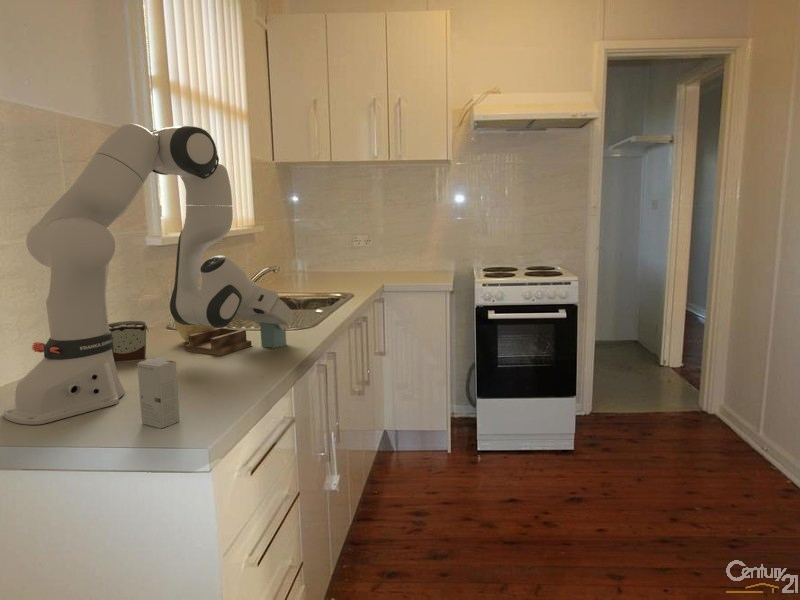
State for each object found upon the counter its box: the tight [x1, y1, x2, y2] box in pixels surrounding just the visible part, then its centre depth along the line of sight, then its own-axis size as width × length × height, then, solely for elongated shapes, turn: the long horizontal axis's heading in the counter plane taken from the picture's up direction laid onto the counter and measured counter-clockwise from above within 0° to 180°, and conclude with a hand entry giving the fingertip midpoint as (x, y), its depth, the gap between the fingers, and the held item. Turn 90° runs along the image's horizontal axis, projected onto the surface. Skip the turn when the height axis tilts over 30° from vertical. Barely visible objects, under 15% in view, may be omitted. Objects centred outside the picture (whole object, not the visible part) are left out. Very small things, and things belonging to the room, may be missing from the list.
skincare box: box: [137, 357, 180, 429], centre depth 109 cm, size 6×4×12 cm
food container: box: [108, 320, 149, 363], centre depth 157 cm, size 12×6×10 cm, turn 104°
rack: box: [184, 327, 252, 356], centre depth 166 cm, size 12×14×4 cm
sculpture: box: [173, 318, 215, 344], centre depth 174 cm, size 12×12×11 cm
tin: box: [259, 322, 287, 349], centre depth 167 cm, size 5×5×10 cm
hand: (274, 326), depth 167 cm, fingers closed on tin, 5 cm apart
